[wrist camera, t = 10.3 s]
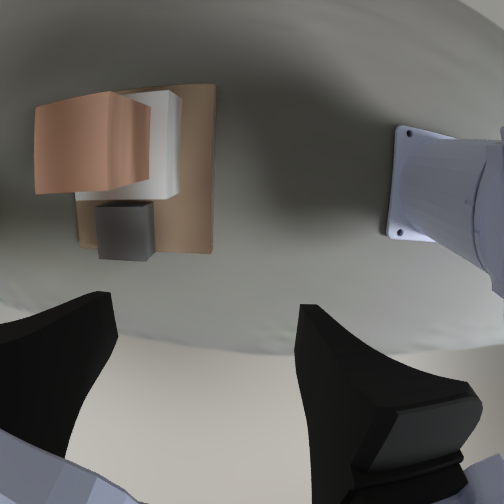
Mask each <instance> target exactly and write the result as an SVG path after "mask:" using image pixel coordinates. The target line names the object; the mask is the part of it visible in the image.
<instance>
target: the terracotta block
mask: <svg viewBox="0 0 504 504" xmlns="http://www.w3.org/2000/svg"><path fill="white" fill-rule="evenodd" d="M150 116H151V107H150V106H148V105H145V104H143V103H140V102H137V101H135V100H132V99H130V98H127V97H124V96H122V95H119V94H116V93H113V92H111V91H106V92H100V93H95V94H89V95H84V96H79V97H75V98H70V99H66V100H61V101H57V102H53V103H49V104H45V105H41V106H38V107H36V110H35V128H34V177H35V195H37V194H52V193H69V192H89V191H108V190H112V189H115V188H119V187H122V186H126V185H129V184H133V183H137V182H140V181H144V180H148V179H149V148H150Z"/></svg>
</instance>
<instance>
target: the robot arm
mask: <svg viewBox="0 0 504 504" xmlns="http://www.w3.org/2000/svg"><path fill="white" fill-rule="evenodd" d="M407 131H409V132H410V137H408V136H407ZM500 133H501V138H502V140H478V139H457V138H453V137H450V136H446V135H442V134H438V133H434V132H430V131H426V130H422V129H418V128H413V127H409V126H404V125H401V126H398V127H397V128H396V130H395V145H394V161H393V174H392V185H391V195H390V204H389V213H388V221H387V228H386V234H387V236H388V237H389V238H391V239H399V240H413V241H427V242H438V243H439V244H441V245H443V246H444V247H446V248H448V249H450V250H451V251H453V252H454V253H456V254H458V255H459V256H461V257H463V258H464V259H466V260H467V261H469V262H471V263H472V264H474V265H475V266H477V267H478V268H480V269H482V270H483V271H485V272H486V273H488V274H489V275H490V278H491V281H492V291H494V292H495V293H496V294H498V295H499V296H500V297H502V298H503V299H504V126H503V127H501V129H500ZM399 229H401V233H400V234H399V235H397V231H398V230H399ZM117 339H118V332H117V327H116V322H115V317H114V311H113V305H112V299H111V293H110V292H102V291H96V292H92V293H88V294H86V295H83V296H80V297H78V298H75V299H73V300H70V301H68V302H66V303H63V304H61V305H59V306H56V307H54V308H51V309H48V310H46V311H43V312H41V313H38V314H35V315H33V316H30V317H26V318H23V319H20V320H16V321H12V322H8V323H3V324H0V504H147V503H143V502H139V501H137V500H136V499H134V498H133V497H132V496H131V495H130V494H129V493H128V492H127V491H126V490H125V489H123V488H121V487H120V486H118V485H116V484H114V483H112V482H111V481H109V480H108V479H106V478H104V477H103V476H101V475H99V474H98V473H95V472H93V471H91V470H89V469H86V468H84V467H82V466H80V465H78V464H75V463H73V462H71V461H69V460H66V459H65V455H66V450H67V447H68V443H69V439H70V436H71V433H72V430H73V427H74V424H75V421H76V419H77V416H78V414H79V411H80V409H81V406H82V404H83V402H84V400H85V398H86V396H87V394H88V392H89V391H90V389H91V388H92V386H93V384H94V383H95V381H96V379H97V377H98V376H99V374H100V373H101V371H102V369H103V367H104V366H105V364H106V363H107V361H108V359H109V358H110V356H111V353H112V351H113V349H114V347H115V344H116V341H117ZM294 353H295V365H296V374H297V379H298V384H299V388H300V393H301V397H302V402H303V406H304V411H305V415H306V420H307V426H308V435H309V447H310V462H311V482H312V504H504V460H503V459H502V457H501V455H500V454H495V455H493V456H491V457H489V458H487V459H484V460H482V461H480V462H477V463H475V464H473V465H471V466H470V467H468V468H467V469H466V470H464V471H463V470H462V468H461V466H460V464H459V463H461V462H462V461H463V459H464V456H463V454H462V452H461V451H460V448H461V447H462V445H463V444H464V443H465V441H466V440H467V439H468V437H469V436H470V434H471V433H472V432H473V430H474V429H475V427H476V425H477V423H478V422H479V420H480V417H481V414H482V410H483V406H482V402H481V400H480V399H479V398H478V396H477V395H476V394H475V392H474V390H473V389H472V388H471V386H470V385H469V384H468V382H464V381H459V380H454V379H449V378H445V377H440V376H436V375H433V374H430V373H426V372H423V371H420V370H417V369H415V368H412V367H409V366H407V365H405V364H403V363H400V362H398V361H395V360H393V359H391V358H389V357H387V356H386V355H384V354H382V353H380V352H379V351H377V350H375V349H373V348H372V347H370V346H368V345H367V344H365V343H364V342H362V341H361V340H360V339H358V338H357V337H355V336H354V335H353V334H351V333H350V332H349V331H348V330H346V329H345V328H344V327H343V326H341V325H340V324H339V323H338V322H337V321H336V320H334V319H333V318H332V317H331V316H330V315H329V314H328V313H326V312H325V311H324V310H323V309H322V308H321V307H319V306H318V305H317V304H300V310H299V318H298V326H297V333H296V341H295V348H294Z"/></svg>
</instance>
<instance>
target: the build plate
mask: <svg viewBox="0 0 504 504" xmlns="http://www.w3.org/2000/svg"><path fill="white" fill-rule="evenodd" d="M113 93H116V94H119V95H122V96H124V97H127V98H130V99H132V100H135V101H137V102H140V103H143V104H145V105H148V106H150V107H151V116H150V148H149V179H148V180H144V181H140V182H137V183H133V184H129V185H126V186H122V187H119V188H115V189H112V190H108V191H89V192H75V200H76V208H77V221H78V231H79V240H80V248H91V249H98V253H99V259H110V260H127V261H145V262H146V261H147V260H148V259H149V258H150V257H151V256H152V255H153V254H154V253H155V252H177V253H199V254H211V252H212V250H213V185H214V146H215V119H216V97H217V86H216V84H215V83H206V84H183V85H168V86H156V87H146V88H138V89H129V90H122V91H115V92H113Z"/></svg>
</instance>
